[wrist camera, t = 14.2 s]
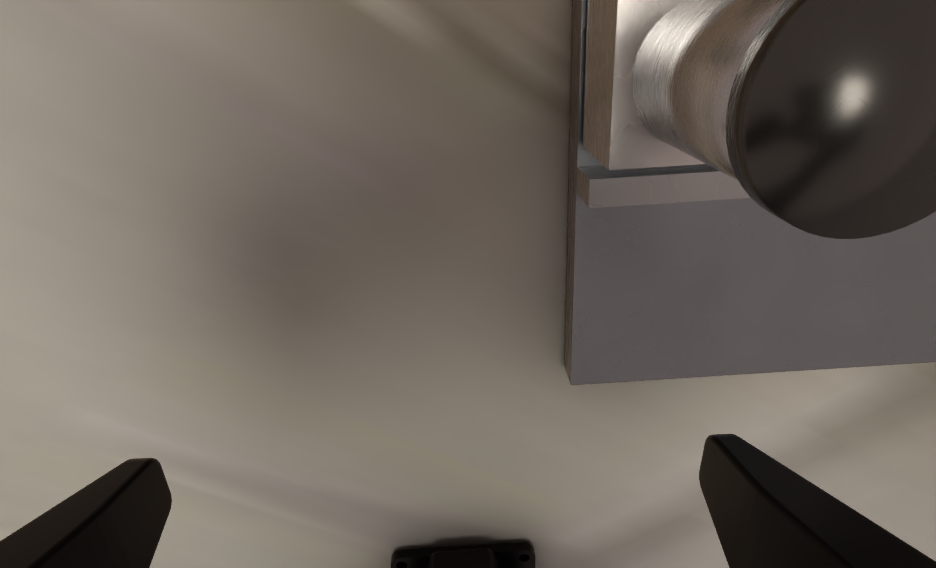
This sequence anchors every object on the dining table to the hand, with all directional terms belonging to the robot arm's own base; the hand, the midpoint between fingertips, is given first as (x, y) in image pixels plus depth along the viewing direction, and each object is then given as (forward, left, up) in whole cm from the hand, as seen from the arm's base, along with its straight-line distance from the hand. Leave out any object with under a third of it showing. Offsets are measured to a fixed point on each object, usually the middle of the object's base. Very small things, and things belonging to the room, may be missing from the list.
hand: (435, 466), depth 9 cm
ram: (+5, -8, -9) cm, 13 cm away
